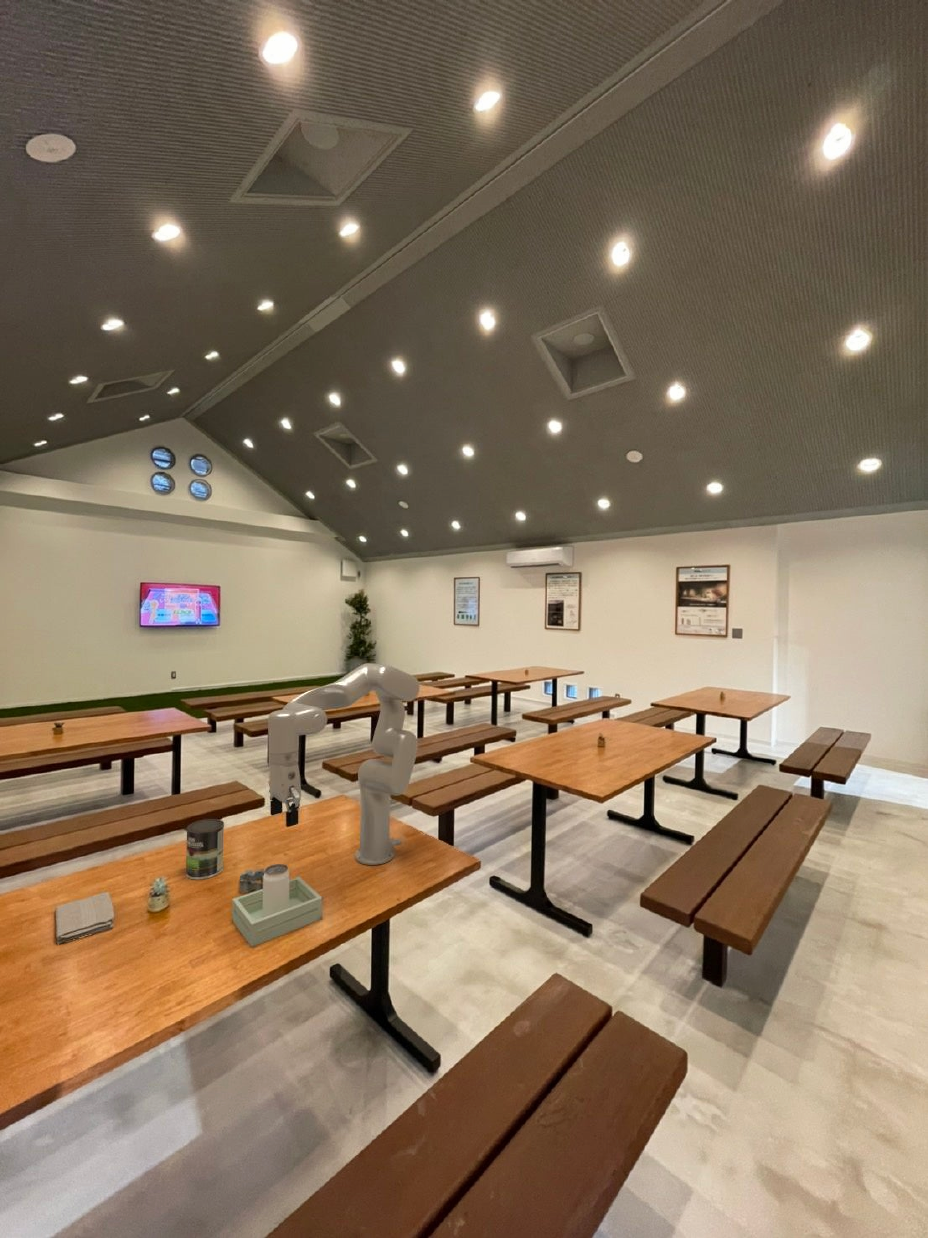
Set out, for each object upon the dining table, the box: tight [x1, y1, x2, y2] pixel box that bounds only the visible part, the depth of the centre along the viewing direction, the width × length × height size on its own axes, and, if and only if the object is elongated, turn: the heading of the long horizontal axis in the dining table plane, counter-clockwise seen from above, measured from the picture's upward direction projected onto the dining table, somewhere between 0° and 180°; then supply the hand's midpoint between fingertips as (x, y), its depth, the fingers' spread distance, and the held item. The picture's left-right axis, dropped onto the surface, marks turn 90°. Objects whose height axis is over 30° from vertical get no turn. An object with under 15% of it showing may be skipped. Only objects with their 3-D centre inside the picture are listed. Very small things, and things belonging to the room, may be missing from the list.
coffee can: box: [185, 818, 225, 881], centre depth 159 cm, size 10×10×14 cm
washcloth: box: [54, 891, 115, 945], centre depth 134 cm, size 12×18×3 cm, turn 40°
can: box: [262, 863, 290, 918], centre depth 136 cm, size 6×6×12 cm
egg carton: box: [238, 868, 266, 894], centre depth 152 cm, size 11×8×4 cm
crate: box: [231, 876, 323, 948], centre depth 136 cm, size 18×14×6 cm
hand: (284, 819), depth 142 cm, fingers open, 9 cm apart
